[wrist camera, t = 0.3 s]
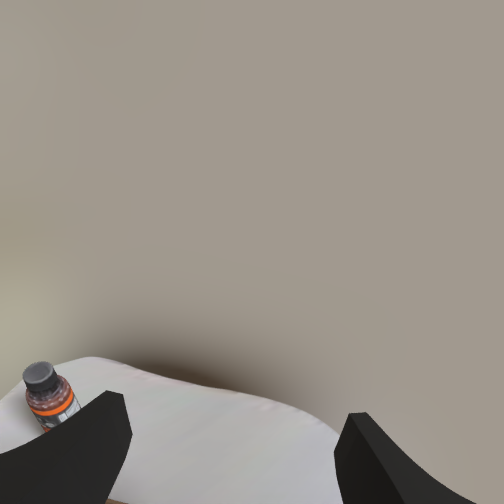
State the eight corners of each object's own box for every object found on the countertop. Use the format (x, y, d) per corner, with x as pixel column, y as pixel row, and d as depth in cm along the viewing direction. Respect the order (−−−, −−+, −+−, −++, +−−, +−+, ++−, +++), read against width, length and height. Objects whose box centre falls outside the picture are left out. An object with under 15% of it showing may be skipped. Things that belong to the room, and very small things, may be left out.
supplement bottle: (48, 447, 24) (5, 378, 21) (70, 419, 30) (36, 351, 26) (82, 464, 23) (37, 394, 20) (104, 432, 29) (70, 361, 25)
